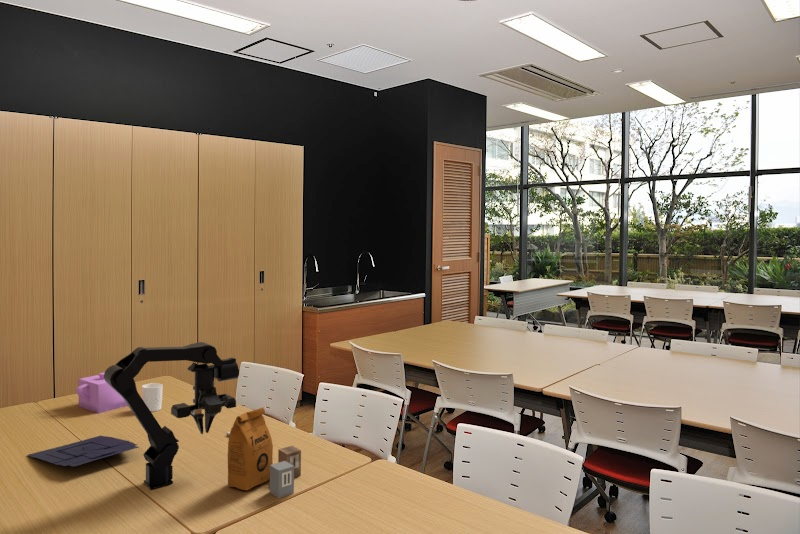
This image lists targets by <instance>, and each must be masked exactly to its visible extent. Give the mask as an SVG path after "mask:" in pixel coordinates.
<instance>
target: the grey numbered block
mask: <svg viewBox="0 0 800 534" xmlns="http://www.w3.org/2000/svg"><path fill="white" fill-rule="evenodd" d="M269 493H270V494H272V495H273V496H275V497H276V498H278V499H281V498H283V497H286V496H289V495H293V494H294V493H295V478H294V466H293V465H291V464H290V463H288V462H286V461H282V462H279V463H278V462H276V463H273V464H272V465H270V480H269Z"/></svg>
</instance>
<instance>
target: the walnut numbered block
mask: <svg viewBox="0 0 800 534" xmlns="http://www.w3.org/2000/svg"><path fill="white" fill-rule="evenodd" d="M277 452H278V453H277V455H278V456H277V457H278V461H277V463H279V462H282V461H286V462H288V463H290V464H291V465H293V466H294V479H295V478H297V477H301V475H302V472H301V471H302V470H301V469H302V449H299V448H297V447H296V446H294V445H290V446H287V447H286V446H285V447H283V448H279V449H278V451H277Z"/></svg>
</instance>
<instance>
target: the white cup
mask: <svg viewBox="0 0 800 534" xmlns="http://www.w3.org/2000/svg"><path fill="white" fill-rule="evenodd" d="M163 387H164V384H162V383H159V382H152V383H146V384H142V386H141V391H142V399H143V401H144V402H145V404H146V405H147V407H148V408H149V410H150V411H151V413H152V412H158V411H160V410H161V409H162V403H163V391H164V390H163V389H164V388H163Z"/></svg>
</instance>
